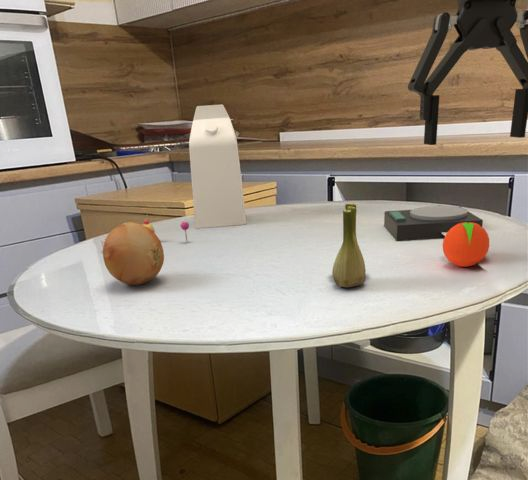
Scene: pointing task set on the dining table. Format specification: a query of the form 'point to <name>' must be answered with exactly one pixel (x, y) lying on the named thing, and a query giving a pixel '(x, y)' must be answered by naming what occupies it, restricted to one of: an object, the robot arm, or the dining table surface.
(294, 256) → the dining table surface
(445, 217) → the scale
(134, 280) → the onion
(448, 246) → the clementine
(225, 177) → the milk
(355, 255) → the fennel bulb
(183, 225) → the candy
